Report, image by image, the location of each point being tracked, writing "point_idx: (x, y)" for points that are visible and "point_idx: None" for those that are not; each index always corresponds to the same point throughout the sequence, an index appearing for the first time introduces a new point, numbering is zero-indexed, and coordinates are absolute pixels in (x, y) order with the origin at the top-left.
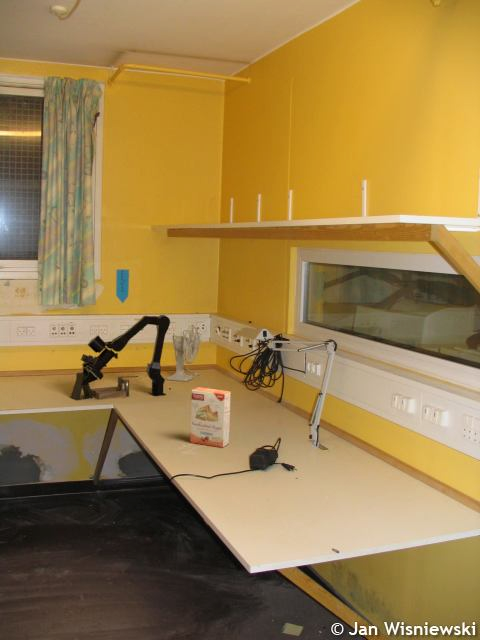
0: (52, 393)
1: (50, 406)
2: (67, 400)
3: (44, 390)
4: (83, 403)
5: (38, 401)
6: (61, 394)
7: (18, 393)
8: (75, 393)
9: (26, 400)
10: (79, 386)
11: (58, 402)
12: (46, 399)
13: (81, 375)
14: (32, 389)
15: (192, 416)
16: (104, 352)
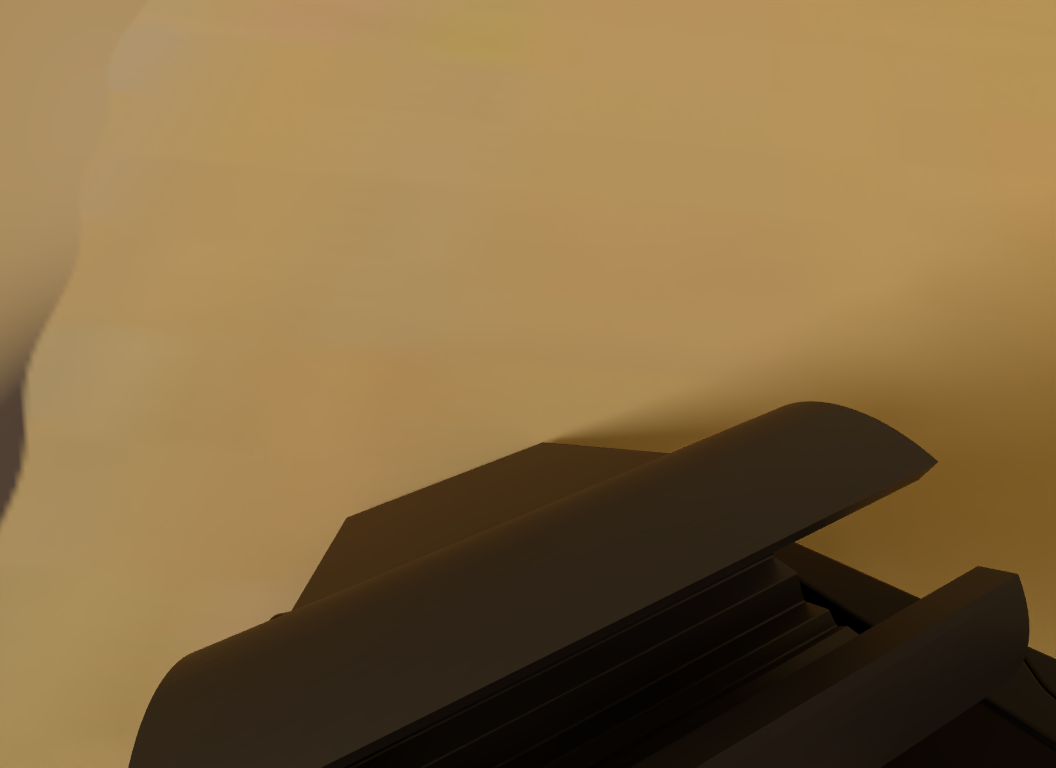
0: (824, 260)
1: (102, 171)
2: (386, 392)
3: (966, 202)
4: (60, 633)
5: (421, 99)
6: (773, 350)
7: (800, 9)
8: (435, 495)
9: (495, 23)
10: (360, 557)
11: (297, 273)
12: (505, 173)
13: (321, 625)
14: (988, 115)
15: None
16: None
